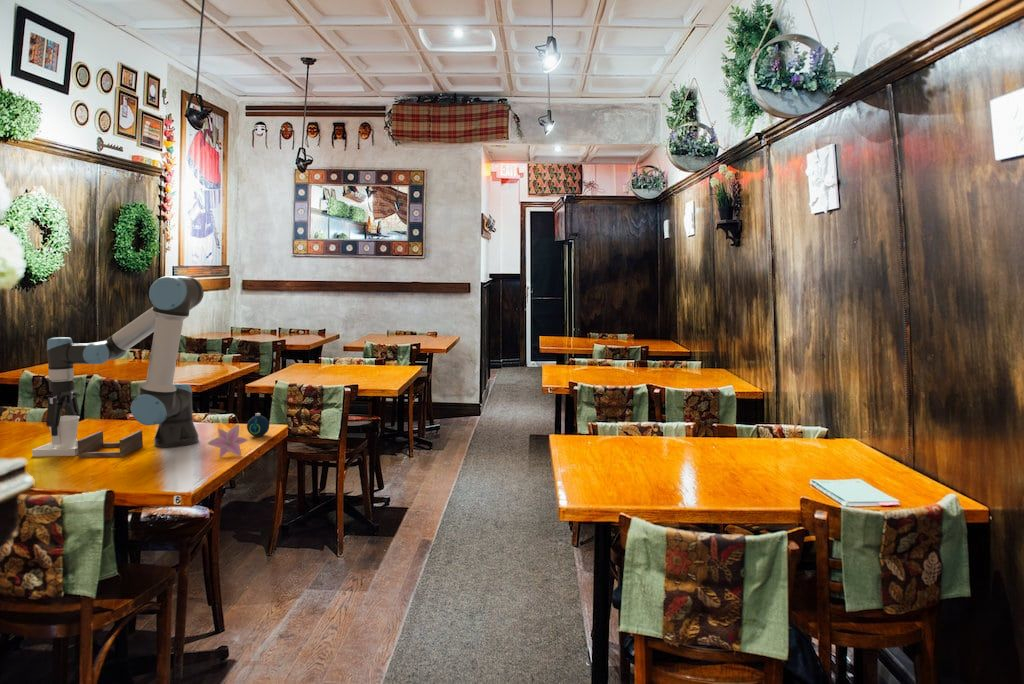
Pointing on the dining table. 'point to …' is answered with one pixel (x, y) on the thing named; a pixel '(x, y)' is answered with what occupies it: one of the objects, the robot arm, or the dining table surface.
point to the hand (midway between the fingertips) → (64, 440)
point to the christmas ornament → (258, 425)
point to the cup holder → (108, 445)
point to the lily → (228, 441)
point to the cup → (68, 431)
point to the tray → (55, 450)
